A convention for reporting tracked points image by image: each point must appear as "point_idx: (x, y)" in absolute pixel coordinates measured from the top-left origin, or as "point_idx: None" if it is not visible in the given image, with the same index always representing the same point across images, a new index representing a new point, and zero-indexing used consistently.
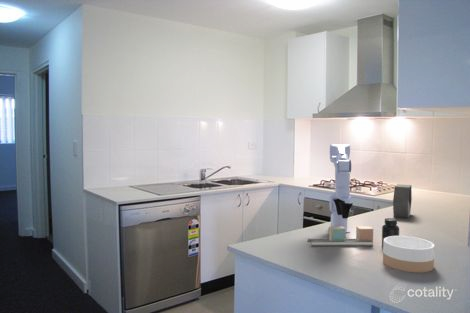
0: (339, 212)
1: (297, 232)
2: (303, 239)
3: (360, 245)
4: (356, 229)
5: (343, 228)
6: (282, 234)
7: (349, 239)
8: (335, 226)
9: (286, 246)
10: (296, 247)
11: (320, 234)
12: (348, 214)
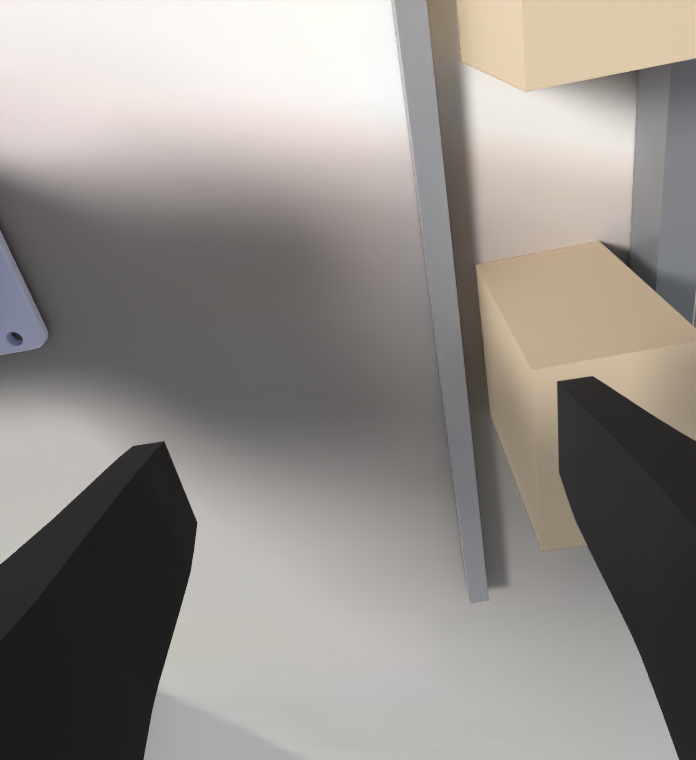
0: (171, 540)
1: (181, 656)
2: (422, 613)
3: None
4: (513, 82)
5: (683, 371)
6: (289, 737)
7: (443, 170)
8: (539, 476)
9: (638, 703)
10: None
11: (186, 481)
12: (655, 417)
